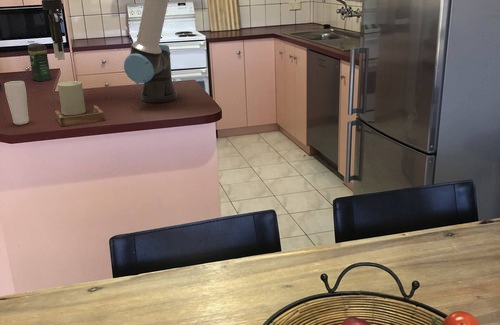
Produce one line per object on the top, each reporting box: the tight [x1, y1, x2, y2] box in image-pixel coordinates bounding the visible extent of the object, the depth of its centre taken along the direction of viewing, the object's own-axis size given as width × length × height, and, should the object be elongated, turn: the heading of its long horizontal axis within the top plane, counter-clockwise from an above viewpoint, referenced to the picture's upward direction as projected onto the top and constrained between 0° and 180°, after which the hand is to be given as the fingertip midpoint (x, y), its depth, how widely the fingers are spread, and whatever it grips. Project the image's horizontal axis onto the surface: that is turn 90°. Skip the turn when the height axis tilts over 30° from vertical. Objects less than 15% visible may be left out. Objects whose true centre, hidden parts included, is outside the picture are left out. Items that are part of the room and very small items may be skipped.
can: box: [57, 80, 87, 116], centre depth 202 cm, size 9×9×12 cm
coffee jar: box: [27, 42, 52, 82], centre depth 264 cm, size 10×8×19 cm
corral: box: [54, 104, 106, 128], centre depth 194 cm, size 13×15×3 cm
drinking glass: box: [3, 80, 30, 126], centre depth 188 cm, size 7×7×15 cm
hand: (60, 58), depth 211 cm, fingers open, 6 cm apart
